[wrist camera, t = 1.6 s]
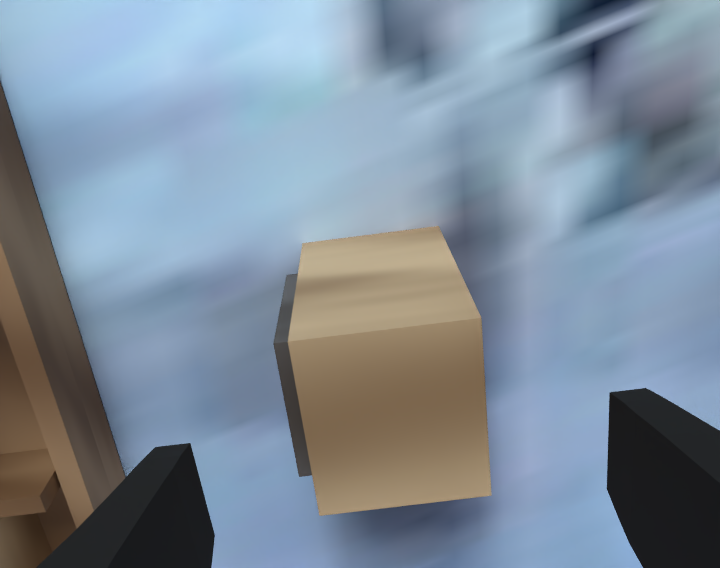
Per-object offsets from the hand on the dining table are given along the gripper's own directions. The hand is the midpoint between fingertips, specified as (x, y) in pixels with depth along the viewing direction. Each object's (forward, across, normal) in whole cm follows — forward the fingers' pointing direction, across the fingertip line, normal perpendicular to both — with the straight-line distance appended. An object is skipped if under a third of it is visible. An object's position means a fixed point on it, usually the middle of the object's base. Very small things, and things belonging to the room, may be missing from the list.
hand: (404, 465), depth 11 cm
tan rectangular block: (+7, 0, 0) cm, 7 cm away
